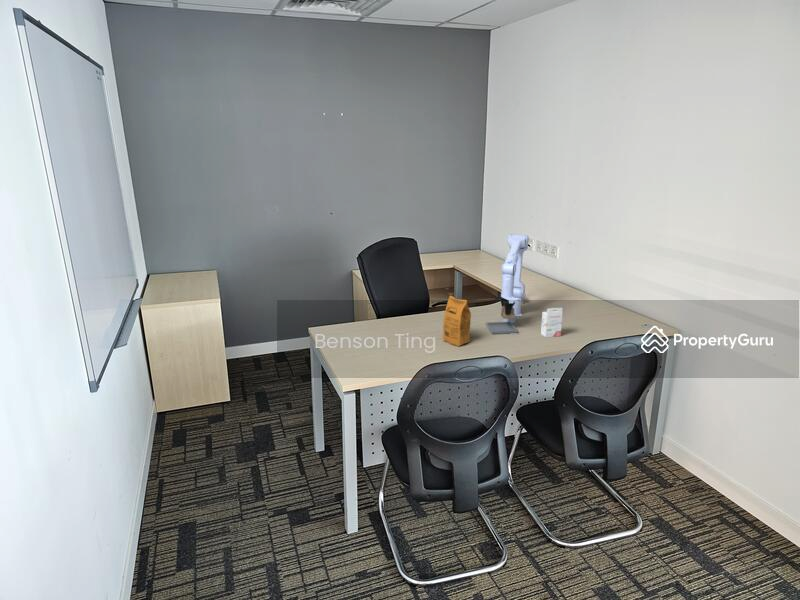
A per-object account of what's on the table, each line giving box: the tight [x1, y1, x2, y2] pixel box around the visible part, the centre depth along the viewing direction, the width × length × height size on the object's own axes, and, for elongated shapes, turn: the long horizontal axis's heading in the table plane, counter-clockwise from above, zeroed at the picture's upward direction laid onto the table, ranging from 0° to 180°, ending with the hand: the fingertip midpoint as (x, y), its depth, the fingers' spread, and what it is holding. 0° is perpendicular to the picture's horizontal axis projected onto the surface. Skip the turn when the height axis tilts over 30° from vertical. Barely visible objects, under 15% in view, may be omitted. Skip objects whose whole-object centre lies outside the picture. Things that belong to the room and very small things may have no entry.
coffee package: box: [442, 295, 472, 347], centre depth 247 cm, size 10×12×22 cm
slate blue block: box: [502, 314, 516, 323], centre depth 277 cm, size 4×4×4 cm
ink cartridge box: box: [540, 307, 564, 338], centre depth 256 cm, size 9×5×15 cm, turn 101°
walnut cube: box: [500, 305, 514, 319], centre depth 264 cm, size 5×5×5 cm
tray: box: [485, 321, 519, 335], centre depth 266 cm, size 13×13×2 cm
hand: (506, 312), depth 264 cm, fingers closed on walnut cube, 5 cm apart
